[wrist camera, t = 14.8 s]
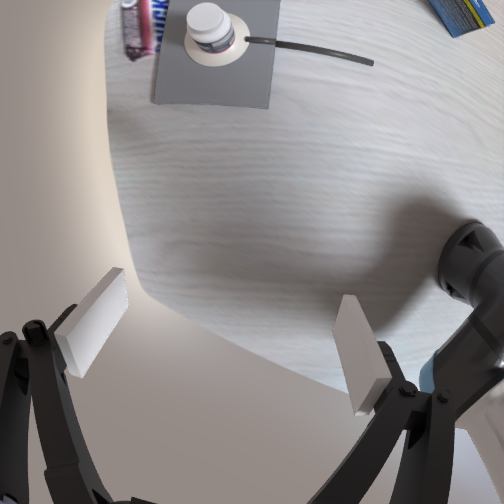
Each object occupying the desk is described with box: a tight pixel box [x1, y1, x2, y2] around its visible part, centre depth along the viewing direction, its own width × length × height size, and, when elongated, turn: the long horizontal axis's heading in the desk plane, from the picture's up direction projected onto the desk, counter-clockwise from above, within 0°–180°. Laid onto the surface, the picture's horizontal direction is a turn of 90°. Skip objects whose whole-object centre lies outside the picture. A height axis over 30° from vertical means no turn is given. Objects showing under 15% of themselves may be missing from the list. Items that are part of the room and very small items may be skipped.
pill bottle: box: [186, 3, 235, 54], centre depth 26 cm, size 5×5×9 cm
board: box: [154, 0, 374, 109], centre depth 31 cm, size 30×20×2 cm, turn 84°
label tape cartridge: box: [429, 0, 495, 38], centre depth 20 cm, size 9×4×12 cm, turn 33°
